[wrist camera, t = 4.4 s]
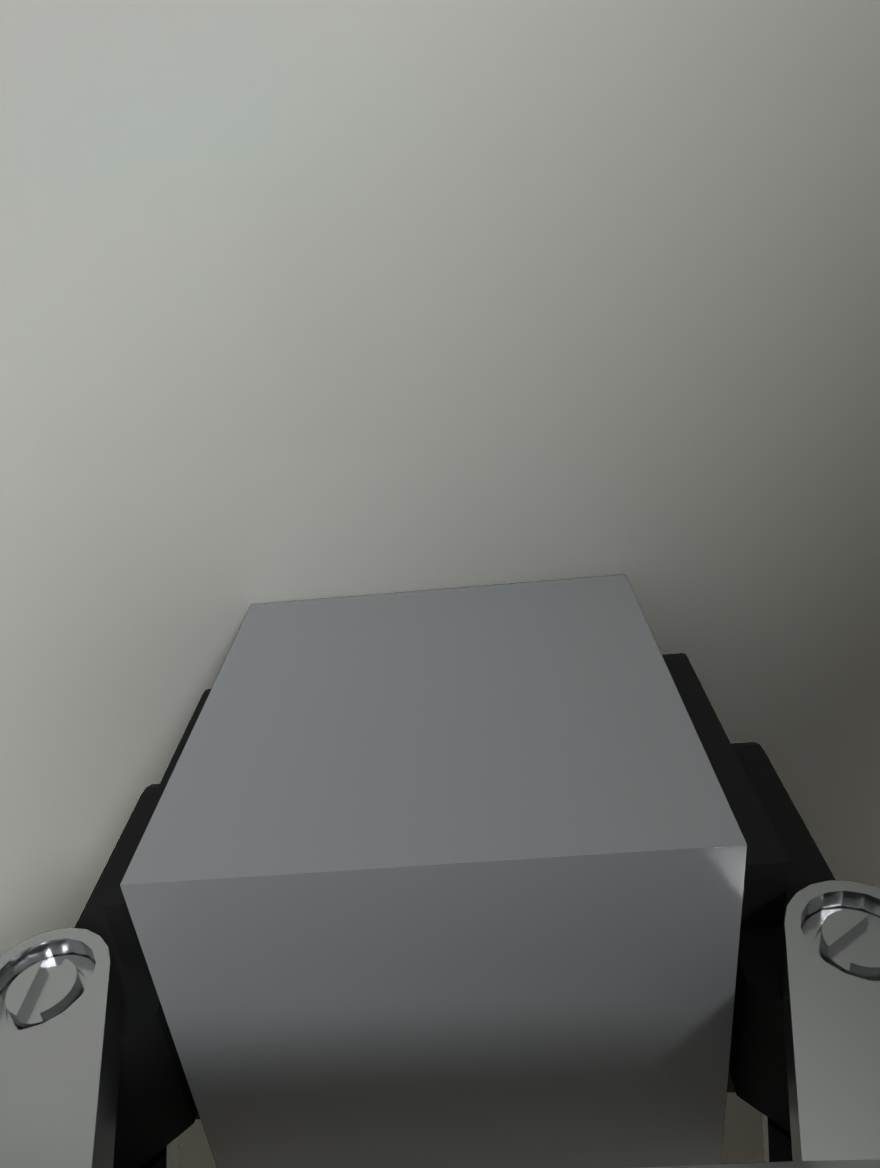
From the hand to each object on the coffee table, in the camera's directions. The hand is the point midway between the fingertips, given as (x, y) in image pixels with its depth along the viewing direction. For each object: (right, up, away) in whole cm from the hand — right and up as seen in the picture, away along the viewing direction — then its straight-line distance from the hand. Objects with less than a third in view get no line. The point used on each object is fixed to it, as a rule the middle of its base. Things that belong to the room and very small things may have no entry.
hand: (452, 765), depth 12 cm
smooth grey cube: (0, 0, 0) cm, 1 cm away
